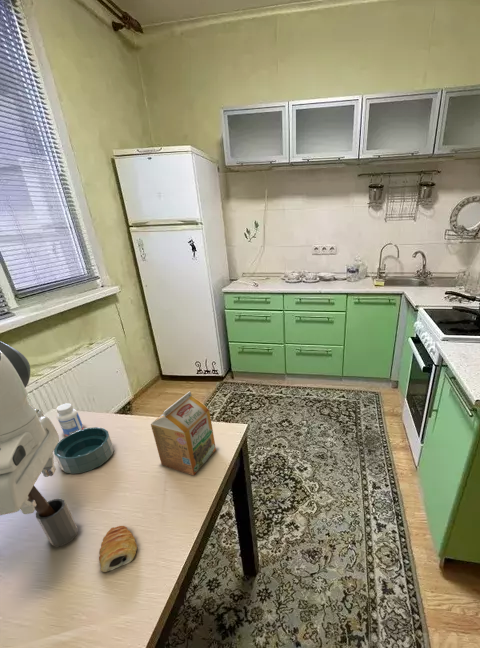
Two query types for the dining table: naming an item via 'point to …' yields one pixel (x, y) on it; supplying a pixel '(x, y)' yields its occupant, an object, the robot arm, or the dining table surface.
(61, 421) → the pill bottle
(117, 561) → the pastry
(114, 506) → the dining table surface
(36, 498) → the stick
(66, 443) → the bowl
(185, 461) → the milk carton
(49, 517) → the holder
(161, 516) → the dining table surface
